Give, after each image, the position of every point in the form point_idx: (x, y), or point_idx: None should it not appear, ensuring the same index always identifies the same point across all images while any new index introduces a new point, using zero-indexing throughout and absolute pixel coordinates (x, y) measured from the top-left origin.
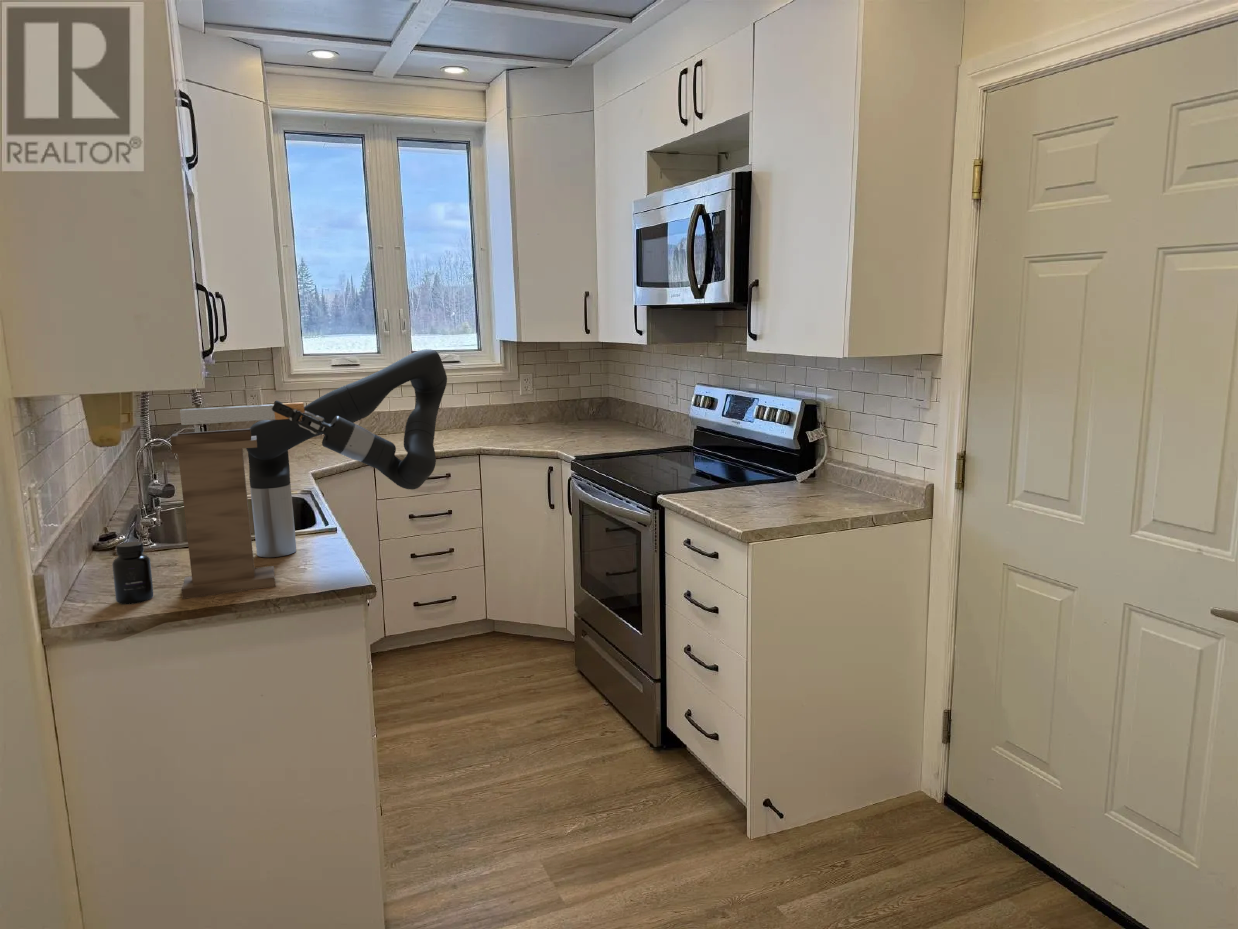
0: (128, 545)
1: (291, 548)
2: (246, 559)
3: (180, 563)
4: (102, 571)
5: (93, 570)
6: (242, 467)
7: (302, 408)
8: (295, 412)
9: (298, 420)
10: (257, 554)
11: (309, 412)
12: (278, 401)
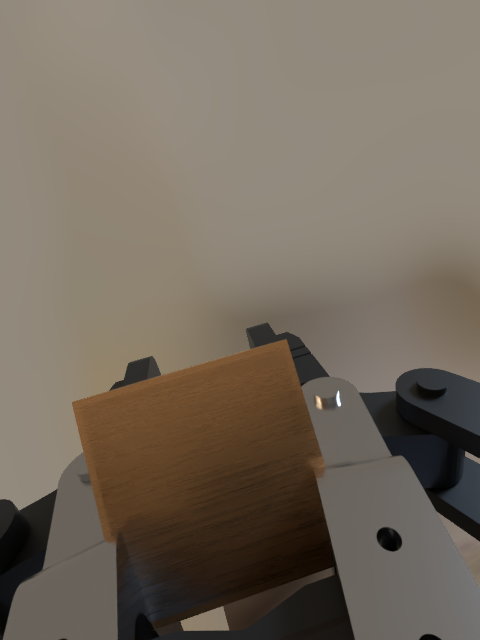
0: None
1: None
2: None
3: None
4: (470, 555)
5: (471, 542)
6: (227, 618)
7: (102, 472)
8: (32, 508)
9: (3, 632)
10: None
11: (368, 550)
12: (248, 333)
